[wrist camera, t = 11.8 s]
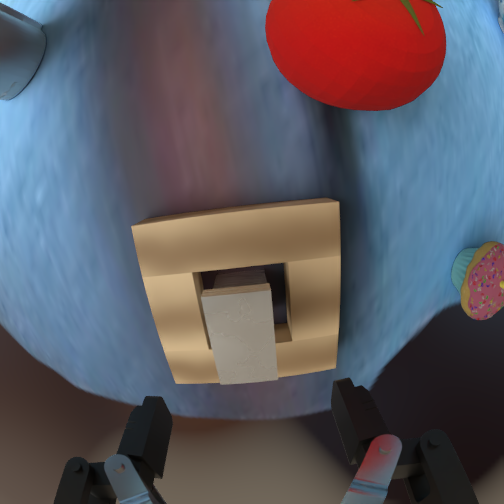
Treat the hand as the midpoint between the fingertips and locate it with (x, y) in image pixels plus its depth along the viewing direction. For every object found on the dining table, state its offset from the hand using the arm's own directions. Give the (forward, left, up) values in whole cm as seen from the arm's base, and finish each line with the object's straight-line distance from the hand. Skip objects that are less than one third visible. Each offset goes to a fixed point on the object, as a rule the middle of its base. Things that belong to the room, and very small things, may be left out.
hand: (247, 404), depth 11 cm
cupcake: (+1, +25, -13) cm, 28 cm away
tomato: (-19, +9, -13) cm, 24 cm away
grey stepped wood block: (0, 0, -13) cm, 13 cm away
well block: (0, 0, -13) cm, 13 cm away
